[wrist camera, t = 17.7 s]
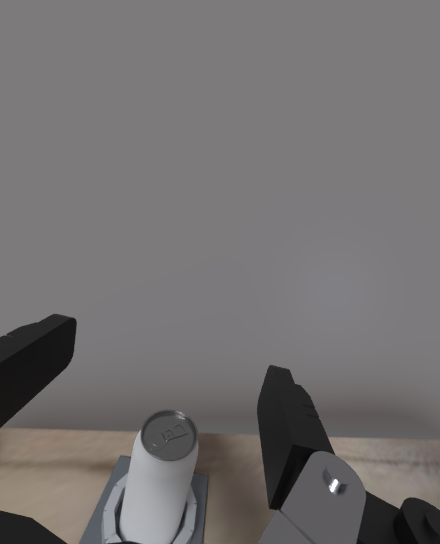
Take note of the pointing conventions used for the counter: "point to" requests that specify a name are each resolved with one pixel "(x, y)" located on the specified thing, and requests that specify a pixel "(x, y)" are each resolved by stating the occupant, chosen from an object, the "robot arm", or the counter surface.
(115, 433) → the counter surface
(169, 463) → the can
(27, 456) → the counter surface
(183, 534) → the holder
